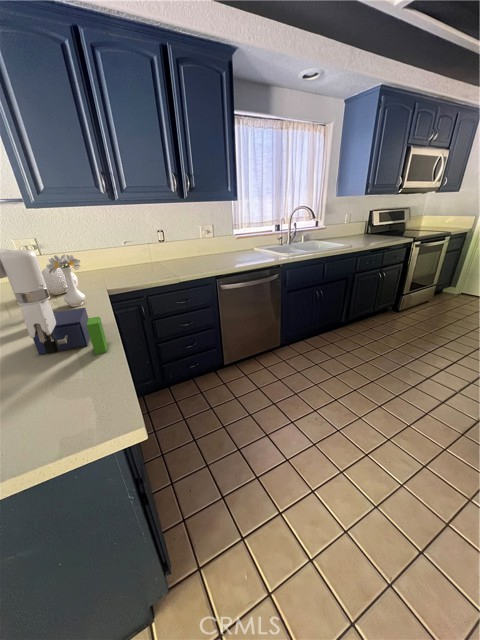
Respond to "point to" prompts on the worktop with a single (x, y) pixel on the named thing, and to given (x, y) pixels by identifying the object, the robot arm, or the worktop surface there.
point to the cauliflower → (57, 281)
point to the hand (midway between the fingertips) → (53, 351)
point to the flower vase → (68, 278)
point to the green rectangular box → (97, 335)
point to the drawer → (64, 338)
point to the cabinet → (72, 322)
